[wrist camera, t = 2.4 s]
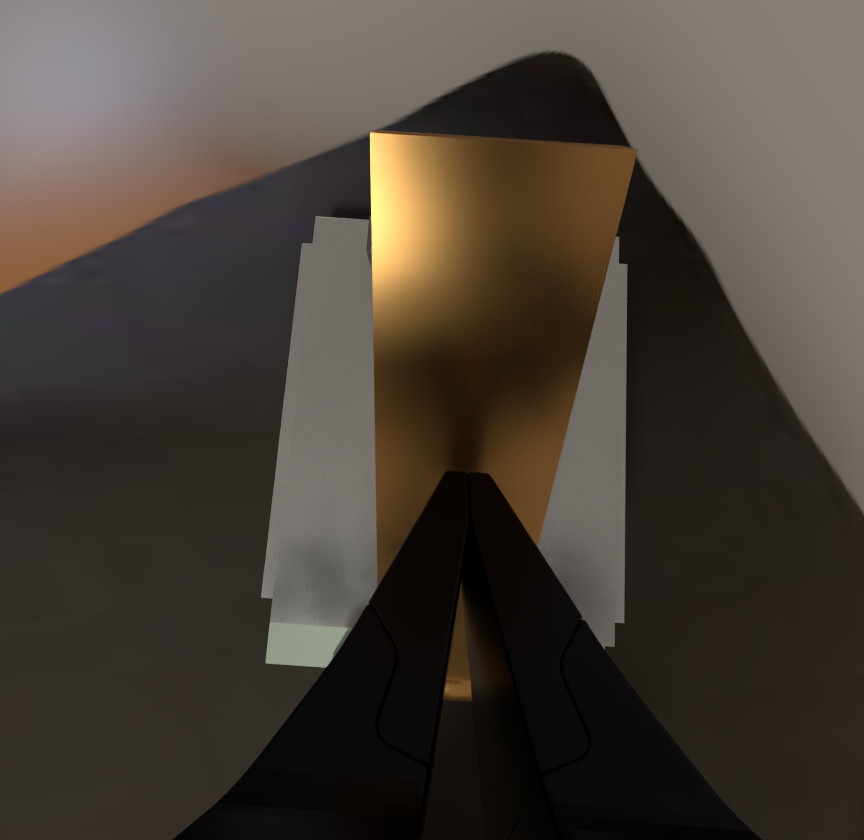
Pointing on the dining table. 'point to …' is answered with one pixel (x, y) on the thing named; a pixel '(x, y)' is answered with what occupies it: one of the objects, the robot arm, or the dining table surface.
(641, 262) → the dining table surface
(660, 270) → the dining table surface
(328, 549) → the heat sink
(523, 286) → the strap
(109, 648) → the dining table surface
